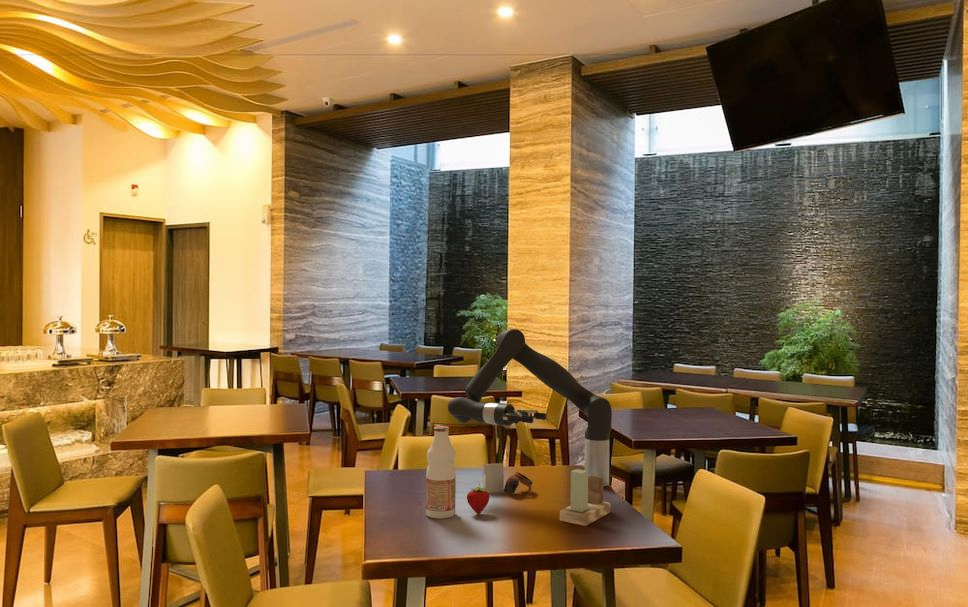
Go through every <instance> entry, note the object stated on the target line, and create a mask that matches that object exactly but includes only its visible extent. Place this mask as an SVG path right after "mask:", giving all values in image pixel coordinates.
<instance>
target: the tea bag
mask: <svg viewBox="0 0 968 607" xmlns="http://www.w3.org/2000/svg"><path fill="white" fill-rule="evenodd" d="M504 478H505V475H504V465H503V463H502V462H500V463H484V465H483V473H482V488H484V489H486V490H484V491H487V492H488V493H489V494H492V493H491V492H501V493H505V492H504V488H505V483H504V480H505V479H504Z"/></svg>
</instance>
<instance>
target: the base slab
mask: <svg viewBox="0 0 968 607" xmlns="http://www.w3.org/2000/svg"><path fill="white" fill-rule="evenodd" d="M611 505H612V504H611V502H608V501H604V487H603V477H597V476H590V477H588V509H587V510H585V511H583V512H579V511H574V510H570V508H571V505H568V506H567V507H565V508H562V509H561V510H559V521H560V522H565V523H566V522H567V523H571V524H576V525H580V526H584V527H586V526H588V525H590V524H591V523H593V522H596V521H597V520H599V519H600V518H602V517H604V516H607V515H608V514H609V513H611V507H612V506H611Z"/></svg>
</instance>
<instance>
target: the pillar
mask: <svg viewBox="0 0 968 607" xmlns="http://www.w3.org/2000/svg"><path fill="white" fill-rule="evenodd" d="M570 506H571V508H570V510H574V511H579V512H583V511H585V510H587V509H588V471H586V470H584V469H579V468H576V469H573V470H570Z"/></svg>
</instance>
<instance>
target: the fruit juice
mask: <svg viewBox="0 0 968 607" xmlns="http://www.w3.org/2000/svg"><path fill="white" fill-rule="evenodd" d="M433 433H434V435H433V438H432V441H431V445H430V446H429V448H428V450H427V452H426V459H427V463H428V465H427V467H426V474H425V478H426V479H425V484H426V485H425V487H426V488H425V514H426V516H427V517H428V518H430V519H431V518H432V519H439V520H441V519H450V518H453V517H454V516H455V515H456V493H457V492H456V489H457V488H456V487H457V486H456V485H457V484H456V482H457V478H456V476H457V471H456V467H455V460H456V450H455V449H454V447H453V445H452V442H451V440H450V439H451V438H450V436H449V433H450V427H449V426H446V425H438V426H436V425H435V426H434V427H433Z"/></svg>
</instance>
